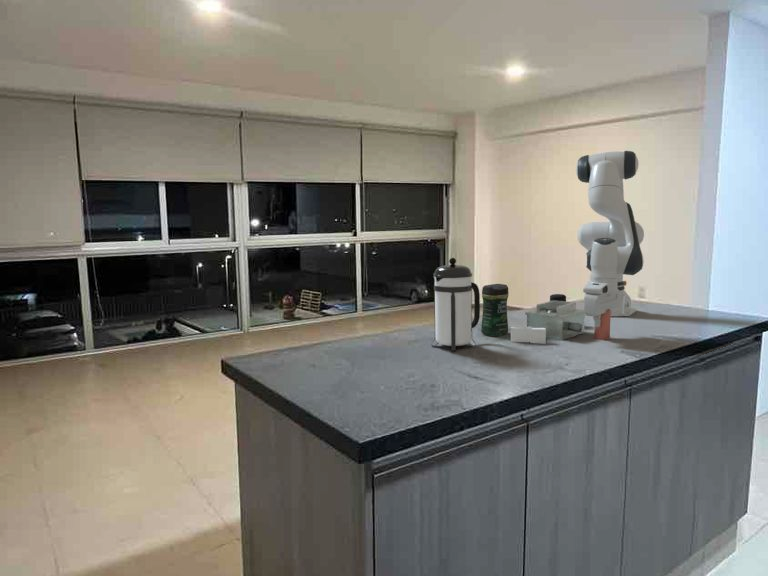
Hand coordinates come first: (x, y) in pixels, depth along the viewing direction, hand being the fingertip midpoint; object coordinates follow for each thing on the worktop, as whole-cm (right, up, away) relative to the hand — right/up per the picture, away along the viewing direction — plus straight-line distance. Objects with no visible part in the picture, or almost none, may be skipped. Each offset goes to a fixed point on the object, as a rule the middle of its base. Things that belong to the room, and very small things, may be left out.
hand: (602, 325), depth 189 cm
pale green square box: (-12, -4, +9) cm, 15 cm away
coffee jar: (-35, -4, +12) cm, 37 cm away
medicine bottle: (-8, -2, +25) cm, 26 cm away
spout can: (0, -5, +1) cm, 5 cm away
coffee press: (-52, -7, -4) cm, 52 cm away
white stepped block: (-26, -6, -2) cm, 27 cm away
